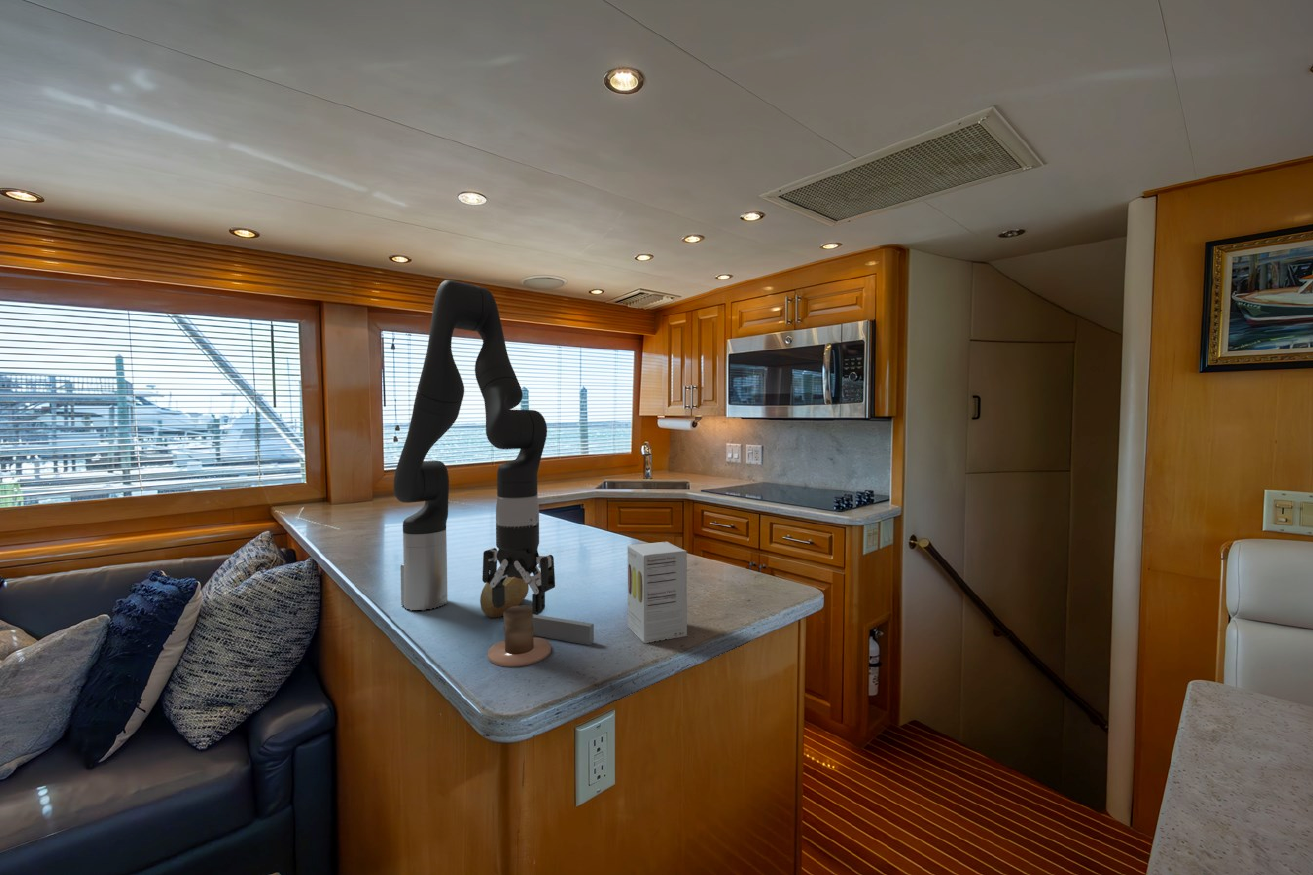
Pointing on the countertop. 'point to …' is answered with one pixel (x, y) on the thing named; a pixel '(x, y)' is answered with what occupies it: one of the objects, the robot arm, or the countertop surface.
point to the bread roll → (513, 596)
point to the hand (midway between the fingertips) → (518, 609)
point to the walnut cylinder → (518, 629)
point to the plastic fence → (562, 629)
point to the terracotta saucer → (512, 660)
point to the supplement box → (657, 591)
